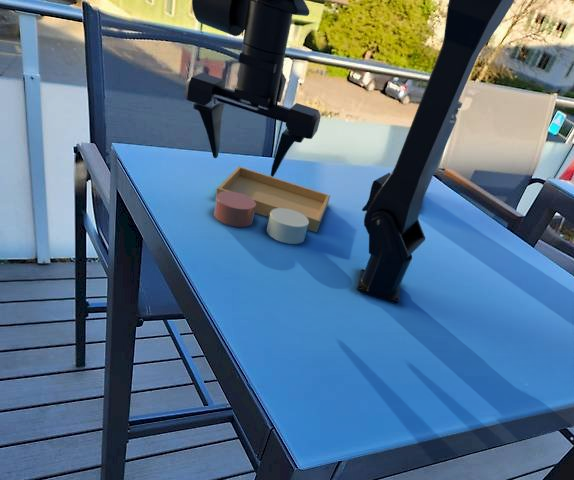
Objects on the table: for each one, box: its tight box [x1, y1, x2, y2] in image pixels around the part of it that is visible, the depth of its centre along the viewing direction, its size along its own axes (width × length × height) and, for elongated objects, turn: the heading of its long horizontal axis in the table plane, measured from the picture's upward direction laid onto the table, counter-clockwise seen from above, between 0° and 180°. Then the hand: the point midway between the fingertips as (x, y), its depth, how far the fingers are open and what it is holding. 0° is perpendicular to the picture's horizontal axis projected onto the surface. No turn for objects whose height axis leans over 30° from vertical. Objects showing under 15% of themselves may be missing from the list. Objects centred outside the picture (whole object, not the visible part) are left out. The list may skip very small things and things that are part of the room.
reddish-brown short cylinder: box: [213, 191, 256, 228], centre depth 79 cm, size 6×6×3 cm
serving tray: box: [215, 166, 331, 233], centre depth 88 cm, size 13×18×2 cm
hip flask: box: [423, 100, 463, 199], centre depth 101 cm, size 16×4×20 cm, turn 170°
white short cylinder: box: [266, 208, 309, 245], centre depth 79 cm, size 6×6×3 cm
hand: (244, 166), depth 75 cm, fingers open, 9 cm apart
